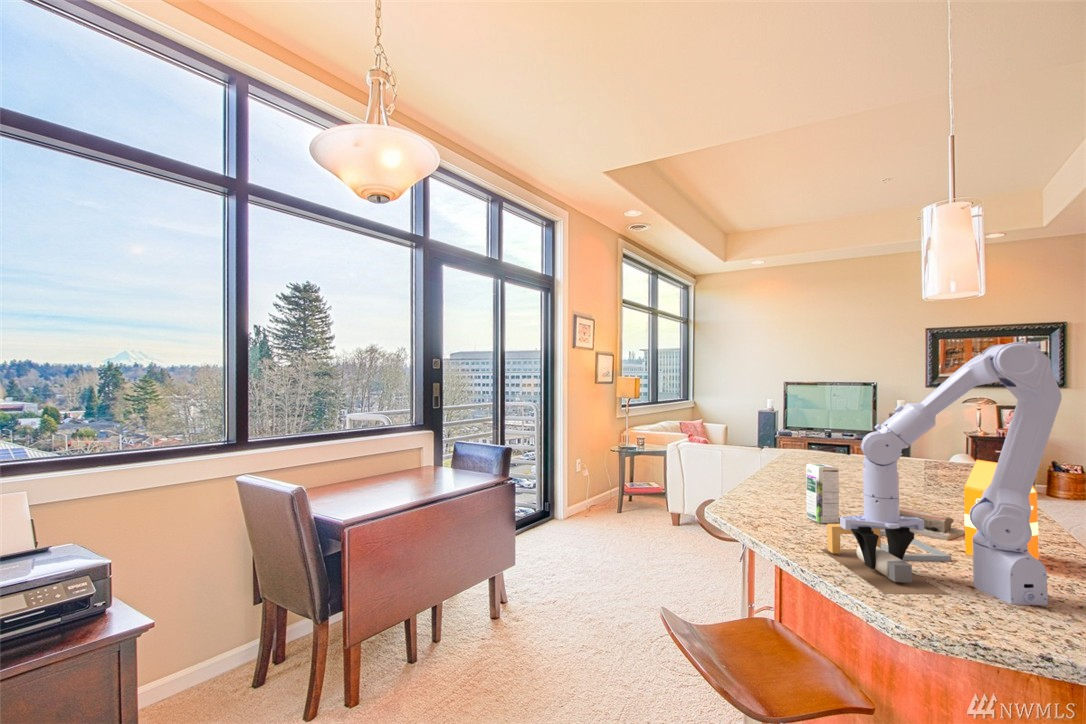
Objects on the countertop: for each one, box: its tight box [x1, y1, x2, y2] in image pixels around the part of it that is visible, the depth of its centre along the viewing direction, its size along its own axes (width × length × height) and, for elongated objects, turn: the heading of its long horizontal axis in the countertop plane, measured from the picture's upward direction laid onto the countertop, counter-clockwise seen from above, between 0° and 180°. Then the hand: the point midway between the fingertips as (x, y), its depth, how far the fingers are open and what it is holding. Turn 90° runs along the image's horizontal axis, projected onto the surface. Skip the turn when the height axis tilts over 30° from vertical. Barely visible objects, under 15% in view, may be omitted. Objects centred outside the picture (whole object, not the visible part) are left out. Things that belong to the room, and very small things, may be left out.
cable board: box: [819, 548, 951, 596], centre depth 98 cm, size 22×11×1 cm, turn 178°
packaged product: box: [899, 505, 965, 542], centre depth 127 cm, size 18×5×10 cm
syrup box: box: [805, 462, 840, 524], centre depth 134 cm, size 6×6×14 cm
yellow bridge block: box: [826, 523, 882, 553], centre depth 106 cm, size 2×10×6 cm, turn 88°
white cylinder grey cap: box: [856, 545, 913, 582], centre depth 96 cm, size 11×4×4 cm, turn 178°
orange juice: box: [963, 459, 1040, 561], centre depth 106 cm, size 8×9×20 cm
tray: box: [881, 529, 952, 562], centre depth 110 cm, size 17×10×2 cm, turn 178°
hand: (882, 567), depth 97 cm, fingers closed on white cylinder grey cap, 4 cm apart
